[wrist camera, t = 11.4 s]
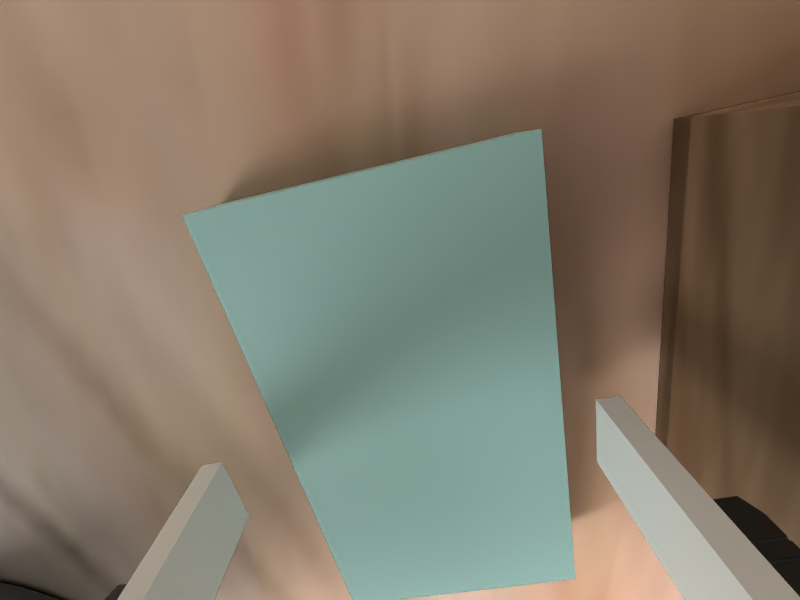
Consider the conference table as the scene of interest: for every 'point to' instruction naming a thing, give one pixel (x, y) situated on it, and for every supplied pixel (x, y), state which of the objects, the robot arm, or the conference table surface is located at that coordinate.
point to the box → (735, 306)
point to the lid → (410, 362)
